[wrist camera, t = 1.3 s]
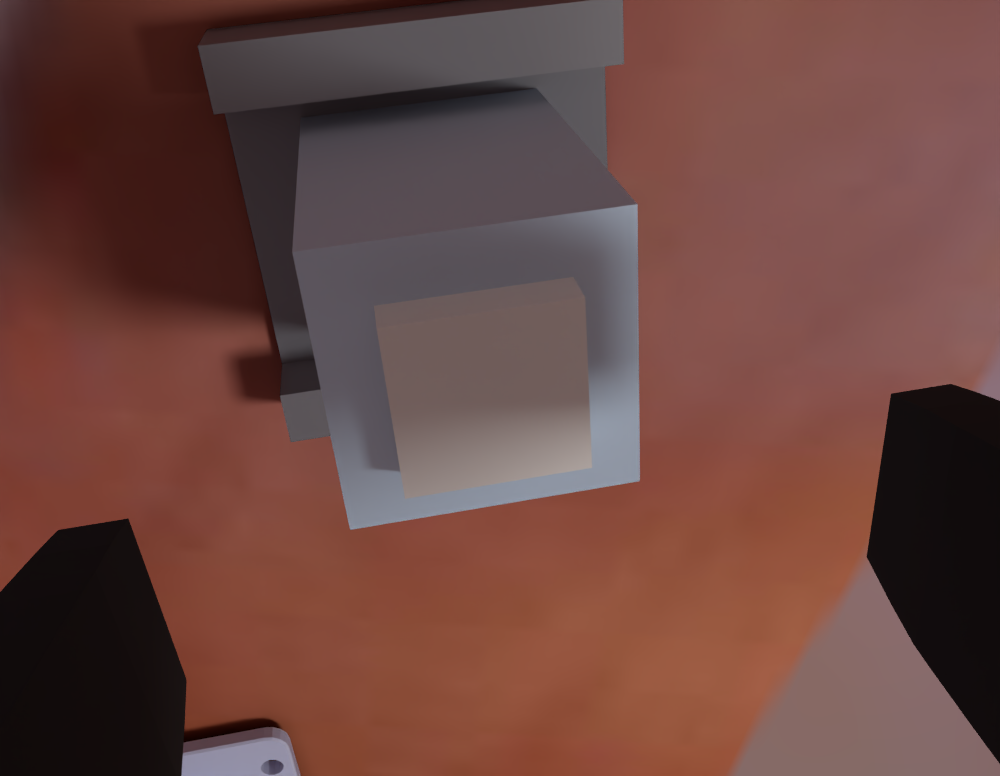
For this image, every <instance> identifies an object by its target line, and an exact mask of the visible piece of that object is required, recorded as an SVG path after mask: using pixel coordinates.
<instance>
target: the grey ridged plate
mask: <svg viewBox="0 0 1000 776" xmlns="http://www.w3.org/2000/svg"><path fill="white" fill-rule="evenodd" d="M198 50H199V54H200V58H201V62H202V67H203V71H204V75H205V79H206V84H207V88H208V92H209V96H210V101H211V105H212V109H213V113H214V114H222V113H225V117H226V121H227V126H228V130H229V134H230V139H231V143H232V148H233V152H234V156H235V161H236V165H237V169H238V174H239V178H240V182H241V187H242V191H243V195H244V200H245V204H246V209H247V213H248V217H249V222H250V226H251V230H252V235H253V239H254V243H255V248H256V252H257V257H258V261H259V265H260V270H261V274H262V278H263V283H264V287H265V291H266V296H267V300H268V305H269V309H270V313H271V318H272V322H273V326H274V331H275V335H276V339H277V344H278V348H279V353H280V357H281V361H282V373H281V387H280V398H281V403H282V407H283V411H284V415H285V420H286V424H287V428H288V432H289V437H290V441H291V442H295V441H301V440H307V439H314V438H320V437H326V436H330V431H329V426H328V421H327V416H326V412H325V407H324V402H323V397H322V392H321V388H320V383H319V378H318V373H317V369H316V364H315V359H314V354H313V349H312V345H311V340H310V335H309V330H308V325H307V321H306V316H305V311H304V306H303V301H302V297H301V292H300V287H299V282H298V277H297V273H296V268H295V263H294V258H293V253H292V247H293V232H294V216H295V201H296V185H297V169H298V154H299V138H300V123H301V118H303V117H311V116H319V115H327V114H335V113H343V112H351V111H359V110H367V109H375V108H383V107H391V106H399V105H407V104H415V103H423V102H431V101H439V100H447V99H455V98H463V97H471V96H479V95H487V94H495V93H503V92H511V91H519V90H527V89H535V88H537V89H538V90H539V92H540V93H541V94H542V95H543V96H544V97H545V99H546V100H547V101H548V102H549V103H550V104H551V105H552V107H553V108H554V109H555V110H556V111H557V112H558V113H559V115H560V116H561V117H562V118H563V119H564V120H565V122H566V123H567V124H568V125H569V126H570V127H571V128H572V130H573V131H574V132H575V133H576V134H577V135H578V136H579V138H580V139H581V140H582V141H583V142H584V143H585V145H586V146H587V147H588V148H589V149H590V150H591V151H592V153H593V154H594V155H595V156H596V157H597V158H598V159H599V161H600V162H601V163H602V164H603V165H604V166H605V168H606V169H607V133H606V94H605V66H611V65H619V64H624V43H623V0H460V1H451V2H442V3H433V4H425V5H416V6H407V7H398V8H390V9H381V10H372V11H364V12H355V13H346V14H337V15H329V16H320V17H311V18H303V19H294V20H285V21H276V22H268V23H259V24H250V25H241V26H233V27H224V28H215V29H207V31H206V32H205V34H204V36H203V38H202V39H201V41H200V43H199V44H198Z"/></svg>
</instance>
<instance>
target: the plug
mask: <svg viewBox="0 0 1000 776" xmlns="http://www.w3.org/2000/svg"><path fill="white" fill-rule="evenodd" d="M292 253H293V258H294V263H295V268H296V273H297V277H298V282H299V287H300V292H301V297H302V301H303V306H304V311H305V316H306V321H307V325H308V330H309V335H310V340H311V345H312V349H313V354H314V359H315V364H316V369H317V373H318V378H319V383H320V388H321V392H322V397H323V402H324V407H325V412H326V416H327V421H328V426H329V431H330V436H331V440H332V445H333V450H334V455H335V460H336V464H337V469H338V474H339V479H340V484H341V488H342V493H343V498H344V503H345V508H346V512H347V517H348V522H349V527H350V530H352V529H358V528H364V527H370V526H376V525H382V524H387V523H393V522H399V521H405V520H411V519H417V518H423V517H429V516H435V515H441V514H447V513H453V512H459V511H465V510H471V509H477V508H483V507H489V506H494V505H500V504H506V503H512V502H518V501H524V500H530V499H536V498H542V497H548V496H554V495H560V494H566V493H572V492H578V491H584V490H590V489H596V488H601V487H607V486H613V485H619V484H625V483H631V482H637V481H640V442H639V332H638V221H637V203H636V202H635V201H634V200H633V199H632V197H631V196H630V195H629V194H628V193H627V192H626V191H625V189H624V188H623V187H622V186H621V185H620V184H619V182H618V181H617V180H616V179H615V178H614V177H613V176H612V174H611V173H610V172H609V171H608V170H607V169H606V168H605V166H604V165H603V164H602V163H601V162H600V161H599V159H598V158H597V157H596V156H595V155H594V154H593V153H592V151H591V150H590V149H589V148H588V147H587V146H586V145H585V143H584V142H583V141H582V140H581V139H580V138H579V136H578V135H577V134H576V133H575V132H574V131H573V130H572V128H571V127H570V126H569V125H568V124H567V123H566V122H565V120H564V119H563V118H562V117H561V116H560V115H559V113H558V112H557V111H556V110H555V109H554V108H553V107H552V105H551V104H550V103H549V102H548V101H547V100H546V99H545V97H544V96H543V95H542V94H541V93H540V92H539V90H538V89H537V88H535V89H527V90H519V91H511V92H503V93H495V94H487V95H479V96H471V97H463V98H455V99H447V100H439V101H431V102H423V103H415V104H407V105H399V106H391V107H383V108H375V109H367V110H359V111H351V112H343V113H335V114H327V115H319V116H311V117H303V118H301V123H300V138H299V154H298V169H297V185H296V201H295V216H294V232H293V247H292Z"/></svg>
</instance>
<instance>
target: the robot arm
mask: <svg viewBox="0 0 1000 776" xmlns="http://www.w3.org/2000/svg"><path fill="white" fill-rule="evenodd" d="M867 558H868V560H869V562H870V564H871V566H872V568H873V570H874V572H875V574H876V576H877V578H878V579H879V581H880V583H881V585H882V587H883V589H884V591H885V592H886V595H887V597H888V599H889V600H890V603H891V605H892V606H893V608H894V610H895V612H896V613H897V615H898V617H899V619H900V621H901V622H902V624H903V626H904V628H905V630H906V631H907V633H908V635H909V637H910V638H911V640H912V642H913V644H914V645H915V647H916V648H917V650H918V651H919V652H920V654H921V655H922V657H923V658H924V660H925V661H926V663H927V664H928V665H929V667H930V668H931V670H932V671H933V673H934V674H935V675H936V677H937V678H938V679H939V681H940V682H941V684H942V685H943V686H944V688H945V689H946V691H947V692H948V693H949V695H950V696H951V698H952V699H953V700H954V702H955V703H956V704H957V706H958V707H959V709H960V710H961V711H962V713H963V714H964V716H965V717H966V718H967V720H968V721H969V722H970V724H971V725H972V727H973V728H974V729H975V731H976V732H977V733H978V735H979V736H980V737H981V739H982V740H983V742H984V743H985V744H986V746H987V747H988V748H989V750H990V751H991V752H992V754H993V755H994V757H995V758H996V759H997V761H998V762H999V763H1000V401H998V400H996V399H993V398H991V397H988V396H985V395H982V394H979V393H977V392H974V391H971V390H968V389H965V388H962V387H959V386H955V385H952V384H948V385H942V386H936V387H930V388H923V389H917V390H911V391H905V392H899V393H893V394H891V398H890V405H889V412H888V418H887V425H886V432H885V438H884V445H883V452H882V458H881V465H880V472H879V478H878V485H877V492H876V499H875V505H874V512H873V519H872V525H871V532H870V539H869V545H868V552H867ZM185 702H186V677H185V674H184V672H183V669H182V666H181V663H180V661H179V658H178V655H177V652H176V650H175V647H174V644H173V641H172V638H171V636H170V633H169V630H168V627H167V625H166V622H165V619H164V616H163V614H162V611H161V608H160V605H159V602H158V600H157V597H156V594H155V591H154V589H153V586H152V583H151V580H150V578H149V575H148V572H147V569H146V566H145V564H144V561H143V558H142V555H141V553H140V550H139V547H138V544H137V542H136V539H135V536H134V533H133V530H132V528H131V525H130V522H129V519H123V520H117V521H111V522H105V523H99V524H92V525H86V526H80V527H74V528H68V529H62V530H58V531H57V532H56V533H55V534H54V535H53V536H52V537H51V538H50V539H49V540H48V541H47V542H46V543H45V544H44V545H43V546H42V547H41V548H40V549H39V550H38V551H37V552H36V553H35V555H34V556H33V557H32V558H31V559H30V560H29V561H28V562H27V563H26V564H25V565H24V567H23V568H22V569H21V570H20V571H19V572H18V573H17V574H16V575H15V576H14V578H13V579H12V580H11V581H10V582H9V583H8V584H7V585H6V586H5V588H4V589H3V590H2V591H1V592H0V776H301V775H300V772H299V768H298V765H297V761H296V758H295V754H294V751H293V748H292V744H291V741H290V738H289V736H288V734H287V733H286V732H285V731H283V730H281V729H279V728H275V727H264V728H259V729H253V730H248V731H242V732H237V733H232V734H226V735H221V736H216V737H210V738H205V739H200V740H194V741H189V742H184V725H185ZM269 760H276V761H269Z"/></svg>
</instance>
